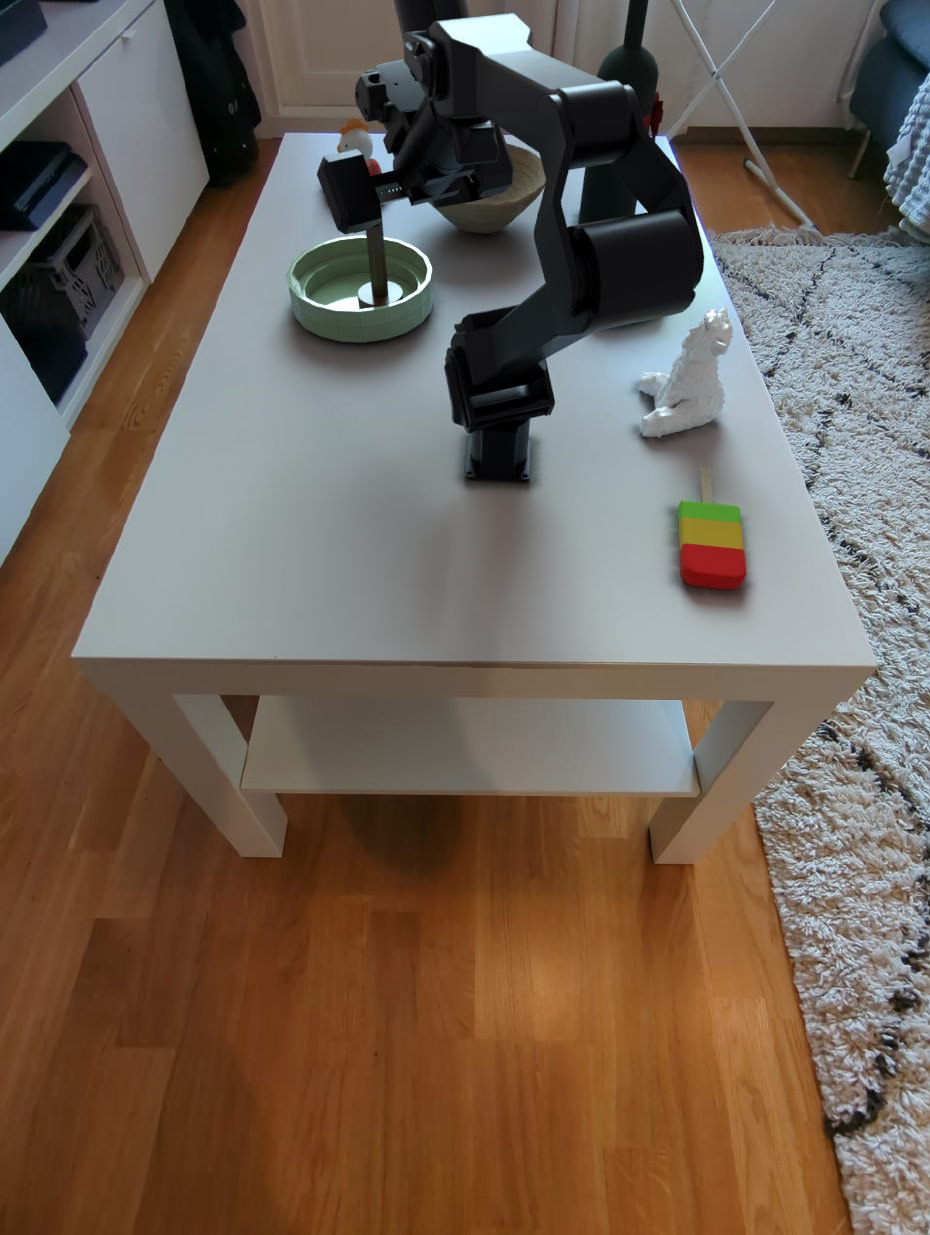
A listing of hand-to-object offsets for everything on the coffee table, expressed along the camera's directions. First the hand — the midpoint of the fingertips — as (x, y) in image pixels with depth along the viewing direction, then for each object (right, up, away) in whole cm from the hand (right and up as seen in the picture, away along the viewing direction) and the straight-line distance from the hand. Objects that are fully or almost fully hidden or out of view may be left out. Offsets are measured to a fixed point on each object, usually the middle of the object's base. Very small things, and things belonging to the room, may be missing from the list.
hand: (396, 213), depth 79 cm
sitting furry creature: (+30, -21, +2) cm, 37 cm away
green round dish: (-5, -4, +14) cm, 15 cm away
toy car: (-9, +20, +32) cm, 39 cm away
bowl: (+9, +12, +26) cm, 30 cm away
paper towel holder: (-3, -4, +13) cm, 14 cm away
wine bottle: (+28, +13, +27) cm, 41 cm away
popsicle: (+30, -34, -8) cm, 47 cm away
